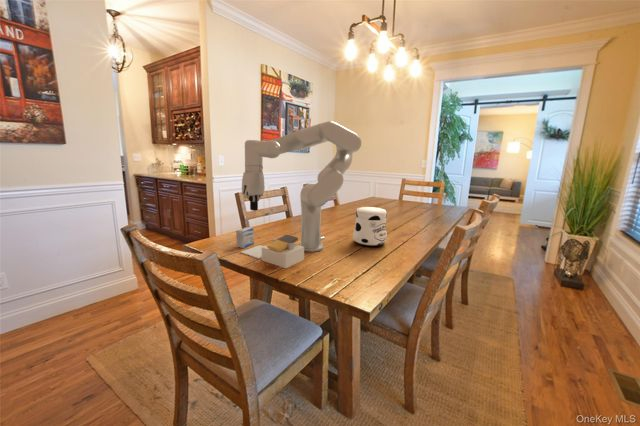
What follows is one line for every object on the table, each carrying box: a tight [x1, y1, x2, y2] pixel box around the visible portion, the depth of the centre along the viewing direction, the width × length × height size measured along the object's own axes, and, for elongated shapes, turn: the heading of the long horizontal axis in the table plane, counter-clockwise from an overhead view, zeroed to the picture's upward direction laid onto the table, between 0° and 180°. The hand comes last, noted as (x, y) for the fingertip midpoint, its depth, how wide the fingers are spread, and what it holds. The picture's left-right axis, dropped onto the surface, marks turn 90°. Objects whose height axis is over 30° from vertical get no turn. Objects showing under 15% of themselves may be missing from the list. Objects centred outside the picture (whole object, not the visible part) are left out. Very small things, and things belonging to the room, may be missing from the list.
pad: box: [240, 244, 264, 260], centre depth 132 cm, size 12×12×1 cm
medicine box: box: [235, 226, 255, 249], centre depth 139 cm, size 8×4×9 cm, turn 154°
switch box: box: [261, 238, 305, 269], centre depth 123 cm, size 12×14×9 cm
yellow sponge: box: [267, 234, 299, 252], centre depth 122 cm, size 12×7×2 cm, turn 145°
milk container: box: [352, 206, 388, 247], centre depth 146 cm, size 17×17×18 cm
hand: (254, 209), depth 127 cm, fingers closed
